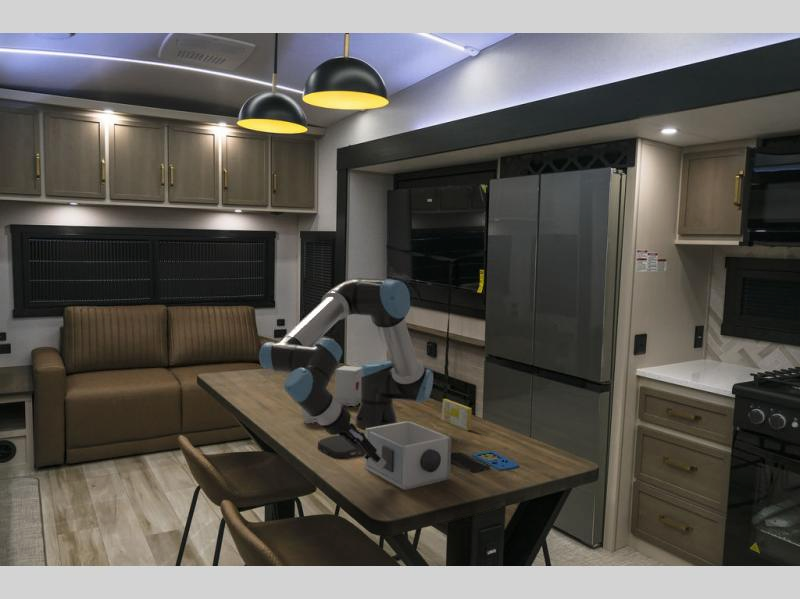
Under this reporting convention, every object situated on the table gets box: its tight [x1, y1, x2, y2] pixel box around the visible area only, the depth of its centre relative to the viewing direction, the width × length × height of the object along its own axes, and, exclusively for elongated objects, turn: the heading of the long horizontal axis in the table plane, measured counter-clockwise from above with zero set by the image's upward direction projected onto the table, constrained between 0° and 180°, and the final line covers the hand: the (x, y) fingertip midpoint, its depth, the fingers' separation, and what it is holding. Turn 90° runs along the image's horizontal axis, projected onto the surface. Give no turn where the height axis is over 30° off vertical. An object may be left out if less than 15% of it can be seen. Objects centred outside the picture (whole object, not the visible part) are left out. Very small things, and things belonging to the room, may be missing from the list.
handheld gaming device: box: [471, 450, 519, 472], centre depth 196 cm, size 8×1×15 cm
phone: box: [450, 451, 491, 474], centre depth 193 cm, size 8×1×15 cm
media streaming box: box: [317, 434, 363, 459], centre depth 204 cm, size 15×15×3 cm
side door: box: [368, 431, 403, 483], centre depth 178 cm, size 2×16×10 cm, turn 36°
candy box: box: [441, 398, 473, 432], centre depth 234 cm, size 16×2×8 cm, turn 31°
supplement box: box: [334, 365, 363, 407], centre depth 260 cm, size 9×9×15 cm
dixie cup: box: [301, 407, 318, 424], centre depth 234 cm, size 8×8×10 cm
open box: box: [364, 420, 452, 491], centre depth 182 cm, size 16×22×12 cm
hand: (382, 465), depth 175 cm, fingers closed
